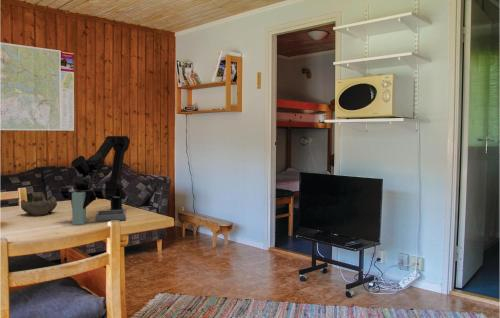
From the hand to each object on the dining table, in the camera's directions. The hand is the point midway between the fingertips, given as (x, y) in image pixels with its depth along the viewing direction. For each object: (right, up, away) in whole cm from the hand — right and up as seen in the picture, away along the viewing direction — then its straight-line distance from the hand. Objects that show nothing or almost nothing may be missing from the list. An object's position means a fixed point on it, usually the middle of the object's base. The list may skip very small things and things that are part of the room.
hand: (78, 208), depth 187 cm
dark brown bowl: (-29, -6, +24) cm, 38 cm away
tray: (+10, -6, +13) cm, 18 cm away
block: (0, -7, +2) cm, 7 cm away
